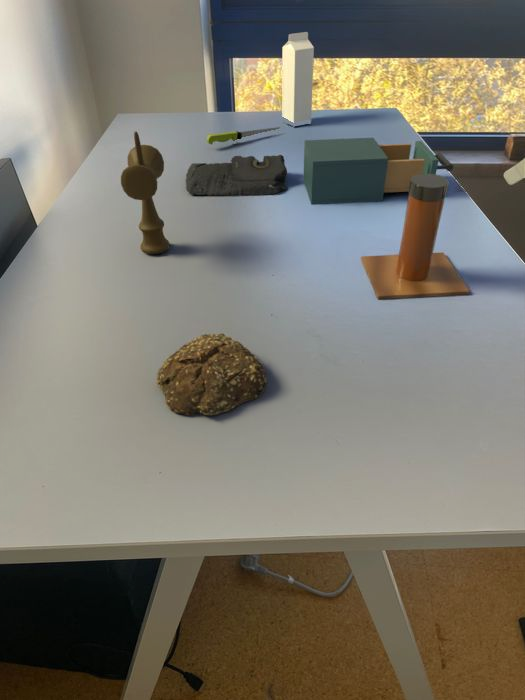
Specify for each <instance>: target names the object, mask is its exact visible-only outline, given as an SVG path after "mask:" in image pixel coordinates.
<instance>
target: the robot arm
mask: <svg viewBox="0 0 525 700" xmlns="http://www.w3.org/2000/svg"><path fill="white" fill-rule="evenodd" d="M503 178H504V179H505V181H506V183H507V184H508V185H509V186H514V185H515V184H517V183H519V182H520V181H522V180H523V179H525V158H523V159H522V160H520V161H519V162H518V163H516V164H514V165H513V166H512V167H510V168H509V169H507V170H506V171H504V173H503Z"/></svg>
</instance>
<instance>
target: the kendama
mask: <svg viewBox="0 0 525 700" xmlns="http://www.w3.org/2000/svg"><path fill="white" fill-rule="evenodd" d="M133 138H134V147H133V148H131V149H130V150H129V152H128V155H127V166H126V167H125V168H124V169H122V172H121V175H120V185H121V188H122V191H123V192H124V193H125V194H126V196H128V197H129V198H131V199H132V200H136V201H141V221H140V222H139V223H138V229H139V230H140V231H141V233H142V241H141V243H140V251H142V252H143V253H144V254H147V255H158V254H162V253H165V252H166V251H168V250H169V247H170V241H169V240H168V239H167V238H166V236H165V234H164V226H165V222H164V220H163V219H162V218H160V216H159V214H158V211H157V208H156V205H155V203H154V199H153V197H154V196H155V195H156V193H157V191H158V179H160V177H162V175H163V173H164V170H165V161H164V158H163V155H162V154H161V152H160V151H159V149H158V148H156V147H155V146H153V145H148V144H141V140H140V136H139V133H138V131H136V130H135V131H134V132H133Z"/></svg>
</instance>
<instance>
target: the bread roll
mask: <svg viewBox="0 0 525 700" xmlns="http://www.w3.org/2000/svg"><path fill="white" fill-rule="evenodd" d="M264 369H265V366H264V364H263V363H261V360H259V359H258V358H257V357H256V355H255V354H254V353H252V352H251V350H250V349H249V348H247V347H246V346H244V345H243V344H242V342H240V341H238V340H235V339H232V337H231V336H227V335H225V334H224V333H218V334H215V333H212V334H211V333H205V334H202V335H199V336H198V337H196V338H194V339H192V340H191V341H189V342H186V343H184V345H182V346H181V347H180V348H179V349H178V350H176V351H175V352H174V353H172V354H169V357H168V358H167V359H166V360H165V361H164V362H163V364H162V365H161V366H160V368H159V369H158V372H157V373H156V381H155V383H156V385H157V387H158V388H159V390H161V392H162V393H163V396H164V397H165V403H166V405H167V407H168V409H169V410H170V411H171V412H172V413H176V414H181V415H186V416H191V415H194V414H197V413H199V414H202V415H204V416H211V417H212V416H217V415H219V414H221V413H226V412H230V411H231V410H233V409H235V408H236V407H238V406H239V405H241V404H243V403H246V402H247V401H254V400H256V399H258V398H259V396H260V394H261V393H263V392H264V391H265V389H266V385H267V372H266V371H265V370H264Z"/></svg>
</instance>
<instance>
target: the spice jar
mask: <svg viewBox="0 0 525 700" xmlns="http://www.w3.org/2000/svg"><path fill="white" fill-rule="evenodd" d="M449 184H450V181H449V179H447V178H446V177H444V176H442V175H439V174H436V175H435V174H418V175H415V176H413V177H412V178H411V181H410V187H409V191H408V197H407V204H406V209H405V215H404V221H403V226H402V233H401V238H400V246H399V250H398V255H399V256H398V262H397V268H396V273H397V275H398V276H399V277H401V278H403V279H405V280H410V281H420V280H424V279H426V278H427V277H428V274H429V269H430V265H431V260H432V255H433V253H434V251H435V246H436V242H437V236H438V232H439V228H440V223H441V217H442V213H443V208H444V204H445V200H446V198H447V194H448V190H449Z"/></svg>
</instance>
